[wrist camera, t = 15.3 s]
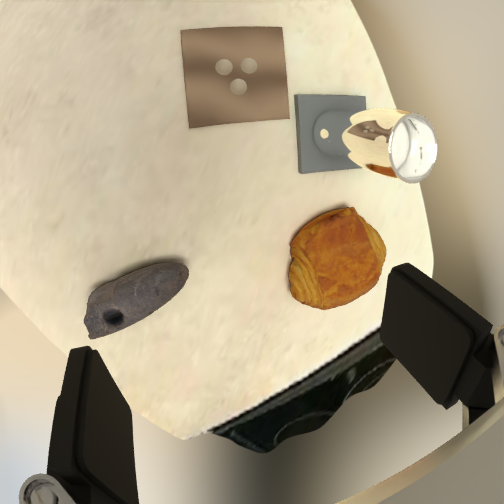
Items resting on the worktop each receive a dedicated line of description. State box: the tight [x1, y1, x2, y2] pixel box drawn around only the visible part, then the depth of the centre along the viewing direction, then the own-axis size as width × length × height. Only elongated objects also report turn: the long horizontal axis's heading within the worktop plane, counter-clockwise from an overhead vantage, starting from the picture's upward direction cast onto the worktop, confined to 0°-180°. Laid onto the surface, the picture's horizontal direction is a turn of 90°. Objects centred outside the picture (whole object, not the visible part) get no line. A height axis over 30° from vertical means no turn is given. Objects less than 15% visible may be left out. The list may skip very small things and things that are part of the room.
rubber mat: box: [294, 95, 366, 174], centre depth 38 cm, size 10×10×1 cm
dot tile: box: [181, 27, 290, 128], centre depth 32 cm, size 12×12×1 cm
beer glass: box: [313, 108, 438, 183], centre depth 31 cm, size 7×7×15 cm
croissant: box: [289, 207, 386, 310], centre depth 43 cm, size 14×16×8 cm
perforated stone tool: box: [84, 263, 189, 339], centre depth 36 cm, size 15×5×7 cm, turn 108°
